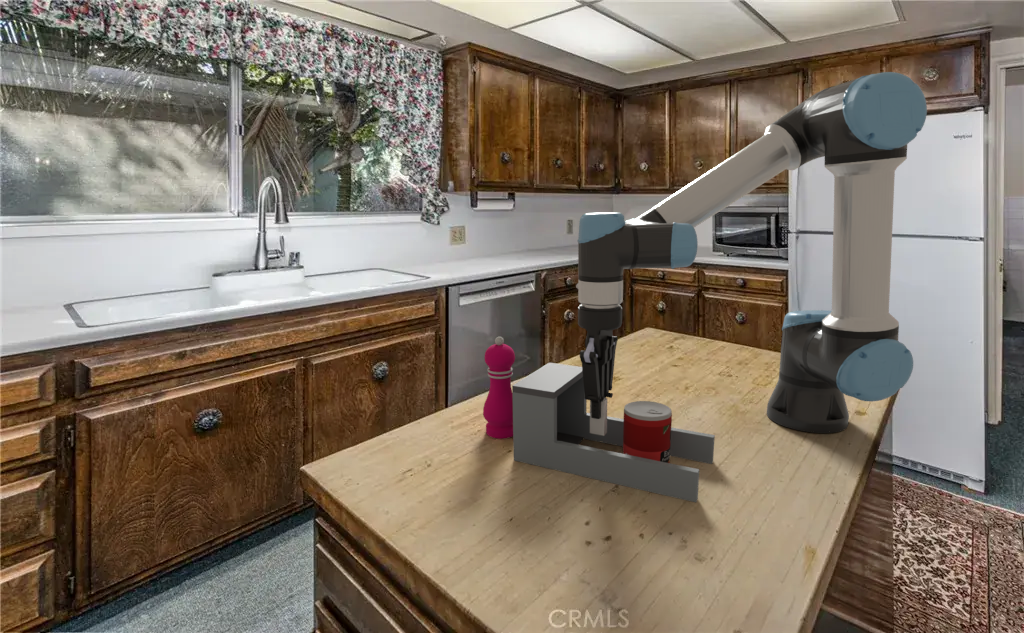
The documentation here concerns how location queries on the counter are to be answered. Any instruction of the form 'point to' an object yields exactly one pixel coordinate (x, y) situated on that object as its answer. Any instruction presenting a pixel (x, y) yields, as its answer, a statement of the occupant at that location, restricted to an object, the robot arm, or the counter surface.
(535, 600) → the counter surface
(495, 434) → the pepper mill
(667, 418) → the canned food
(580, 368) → the trap channel
